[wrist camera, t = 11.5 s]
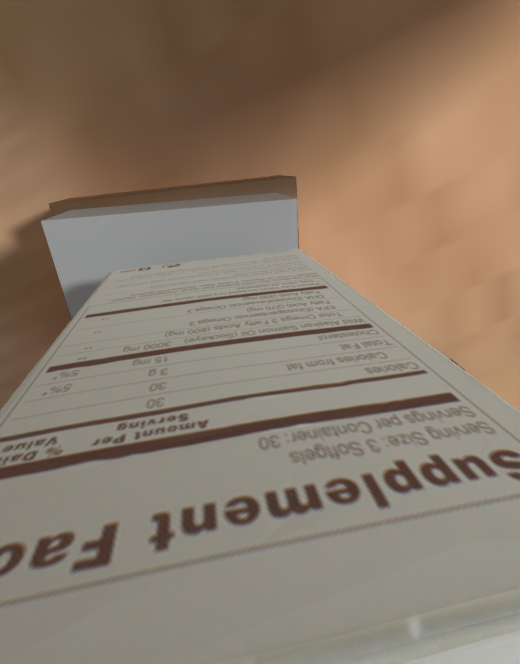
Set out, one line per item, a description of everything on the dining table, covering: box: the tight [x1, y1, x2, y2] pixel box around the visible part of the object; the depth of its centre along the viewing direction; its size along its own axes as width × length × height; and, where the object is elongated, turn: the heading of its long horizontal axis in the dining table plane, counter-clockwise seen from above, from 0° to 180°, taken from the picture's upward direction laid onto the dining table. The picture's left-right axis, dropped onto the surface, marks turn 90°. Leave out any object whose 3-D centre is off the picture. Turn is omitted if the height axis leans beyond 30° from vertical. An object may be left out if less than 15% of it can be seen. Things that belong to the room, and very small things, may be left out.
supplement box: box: [0, 248, 520, 664], centre depth 9 cm, size 7×7×13 cm
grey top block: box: [41, 193, 298, 319], centre depth 18 cm, size 10×10×4 cm
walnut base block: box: [49, 175, 299, 249], centre depth 22 cm, size 12×12×4 cm
